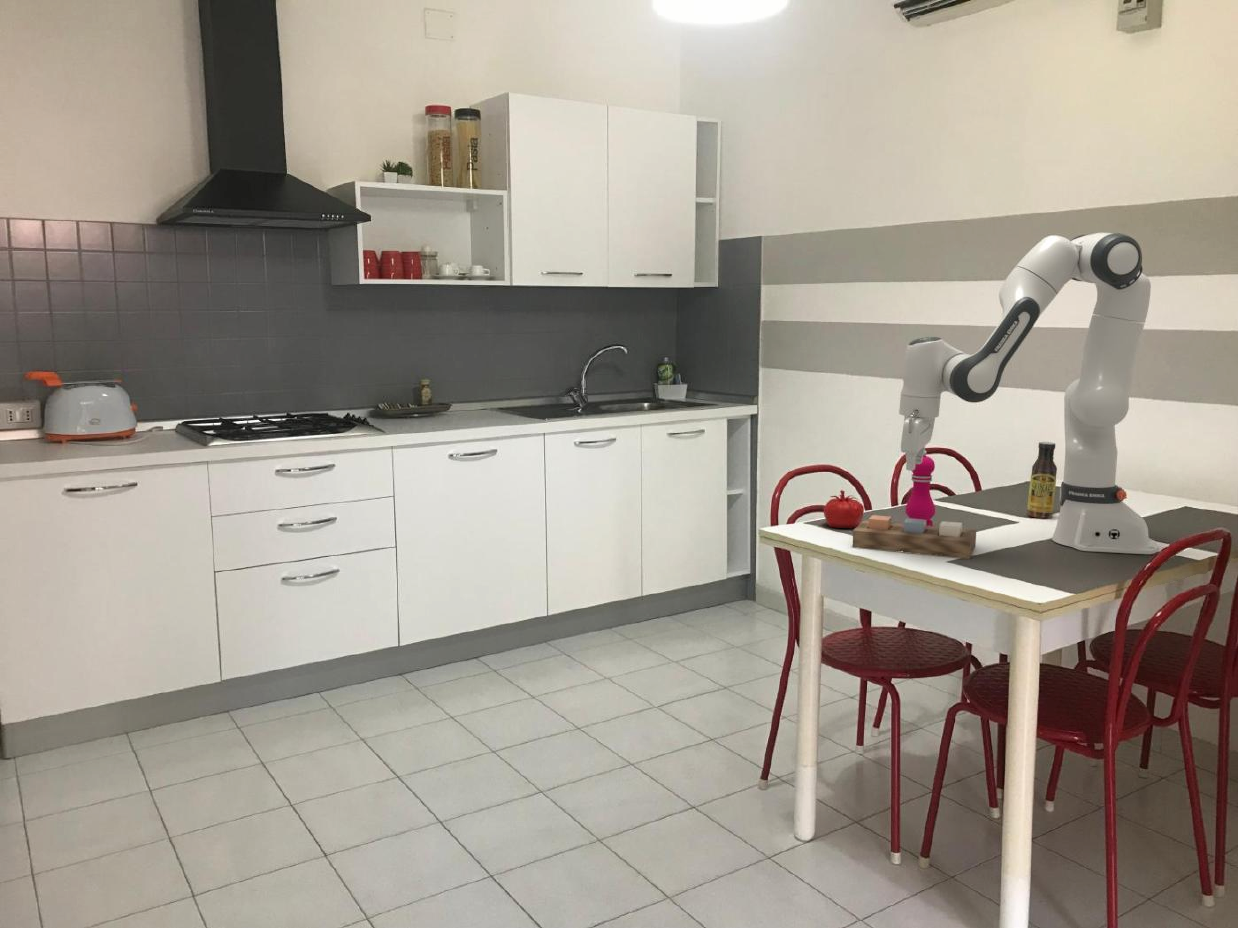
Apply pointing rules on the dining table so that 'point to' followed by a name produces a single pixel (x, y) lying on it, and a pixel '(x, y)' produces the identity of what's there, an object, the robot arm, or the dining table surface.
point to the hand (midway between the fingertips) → (914, 466)
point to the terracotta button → (880, 522)
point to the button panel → (915, 541)
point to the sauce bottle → (1042, 483)
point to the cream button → (950, 529)
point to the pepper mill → (922, 492)
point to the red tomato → (843, 512)
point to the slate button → (914, 526)
